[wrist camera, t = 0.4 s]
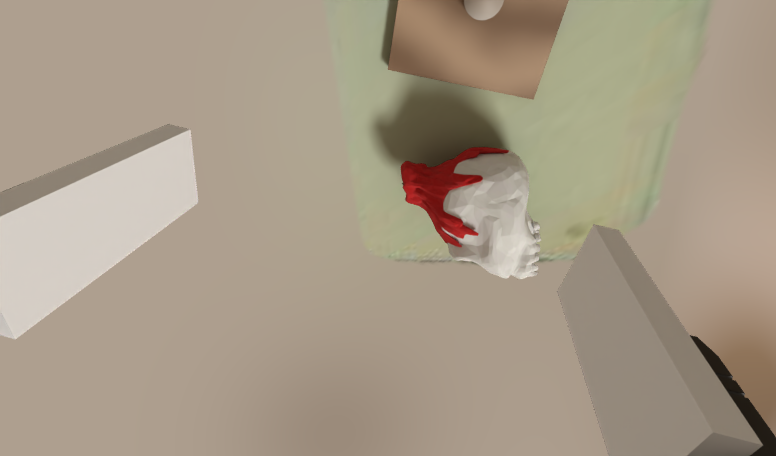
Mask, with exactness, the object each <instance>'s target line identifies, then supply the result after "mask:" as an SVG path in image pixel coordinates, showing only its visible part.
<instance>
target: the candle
mask: <svg viewBox="0 0 776 456" xmlns="http://www.w3.org/2000/svg"><path fill="white" fill-rule="evenodd" d="M401 175H402V180H403V183H402V184H403V189H404V191H405V192H406V198H405V200H406V201H407V202H408V203H411V204H414V205H418V206H420V207H422V208H423V209H425V210H426V211H427V213H428V214H429V216H430V218H431V220H432V222H433V224H434V226H435V229H436V231H437V232H438V233H439V234H440V236H441V237H442V238H443V240H444V241H445V243H447V244H448V248H449V253H450V255H451V256H452V257H453V258H454V259H455V260H458V261H459V260H464V261H473V262H475V263H477V264H479V265H480V266H482V267H483V268H484V269H486V270H487V271H488V272H489V273H492V274H495V275H497V276H500V277H502V278H508V277H509V276H510V275H513V276H515V277H517V278H519V279H524V278H526V277H529V276H535V275H538V272H536V271H537V270H538V265H535V264H533V262H536V261H538V260H539V254H537V252H539V251H540V245H539V244H536V242H539V241H541V238H540V234H539V230H538V229H540V226H539V224H538V223H537V222H535V221H533V220H532V218H531V217H530V216H529V214H528V212H527V209H526V205H527V200H528V194H529V175H528V172H527V169H526V167H525V165H524V164H523V162H522V160H521V159H520V157H519V156H517V155H516V154H515V153H513V152H511V151H509V150H505V149H498V148H489V147H473V148H469V149H467V150H465V151H464V152H462V153H461V154H459V155H458V156H457V157H456V158H454V159H451V160H447V161H445V162H444V163H442V164H440V165H438V166H435V167H427V165H426V164H422V163H420V164H414V163H411V162H409V161H405V162H404V163H403V164H402V165H401Z"/></svg>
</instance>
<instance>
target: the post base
mask: <svg viewBox="0 0 776 456" xmlns="http://www.w3.org/2000/svg"><path fill="white" fill-rule="evenodd" d="M568 1H569V0H398V6H397V13H396V19H395V26H394V32H393V39H392V45H391V52H390V59H389V65H388V70H392V71H397V72H402V73H407V74H412V75H417V76H422V77H426V78H431V79H436V80H441V81H446V82H451V83H456V84H460V85H465V86H470V87H475V88H480V89H485V90H490V91H494V92H499V93H504V94H509V95H514V96H519V97H524V98H528V99H534V96H535V93H536V91H537V88H538V85H539V82H540V79H541V77H542V74H543V71H544V68H545V65H546V62H547V60H548V57H549V54H550V51H551V48H552V46H553V43H554V40H555V37H556V34H557V31H558V29H559V26H560V23H561V20H562V17H563V15H564V12H565V9H566V6H567V3H568Z"/></svg>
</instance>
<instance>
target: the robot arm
mask: <svg viewBox="0 0 776 456" xmlns="http://www.w3.org/2000/svg"><path fill="white" fill-rule="evenodd" d="M197 203H198V197H197V187H196V178H195V168H194V159H193V150H192V141H191V132H190V129H187V128H183V127H179V126H174V125H170V124H167V125H165V126H162V127H160V128H158V129H155V130H153V131H150V132H148V133H145V134H143V135H140V136H138V137H136V138H133V139H131V140H128V141H126V142H123V143H121V144H118V145H116V146H114V147H111V148H109V149H106V150H104V151H101V152H99V153H96V154H94V155H92V156H89V157H87V158H84V159H82V160H79V161H77V162H74V163H72V164H69V165H67V166H65V167H62V168H60V169H57V170H55V171H52V172H50V173H47V174H45V175H43V176H40V177H38V178H35V179H33V180H30V181H28V182H25V183H22V184H20V185H17V186H15V187H12V188H10V189H8V190H5V191H3V192H1V193H0V335H2V336H5V337H9V338H13V339H16V338H18V337H19V336H20V335H22V334H23V333H24V332H25V331H27V330H28V329H30V328H31V327H32V326H34V325H35V324H36V323H38V322H39V321H40V320H42V319H43V318H44V317H46V316H47V315H48V314H50V313H51V312H52V311H54V310H55V309H56V308H58V307H59V306H60V305H62V304H63V303H64V302H66V301H67V300H68V299H70V298H71V297H72V296H74V295H75V294H76V293H78V292H79V291H80V290H82V289H83V288H85V287H86V286H87V285H89V284H90V283H91V282H93V281H94V280H95V279H97V278H98V277H99V276H100V275H102V274H103V273H104V272H106V271H107V270H109V269H110V268H111V267H113V266H114V265H115V264H117V263H118V262H119V261H121V260H122V259H123V258H125V257H126V256H127V255H129V254H130V253H131V252H133V251H134V250H135V249H137V248H138V247H139V246H141V245H142V244H143V243H145V242H146V241H147V240H149V239H150V238H151V237H153V236H154V235H155V234H157V233H158V232H159V231H161V230H162V229H164V228H165V227H166V226H167V225H169V224H170V223H171V222H173V221H174V220H176V219H177V218H178V217H179V216H181V215H182V214H184V213H185V212H186V211H188V210H189V209H190V208H192V207H193V206H194V205H196V204H197ZM557 292H558V296H559V298H560V302H561V305H562V308H563V311H564V315H565V318H566V321H567V324H568V327H569V331H570V334H571V336H572V340H573V343H574V346H575V350H576V352H577V356H578V359H579V362H580V365H581V369H582V372H583V375H584V378H585V381H586V385H587V388H588V391H589V394H590V397H591V400H592V403H593V407H594V410H595V413H596V416H597V419H598V423H599V426H600V429H601V432H602V435H603V439H604V442H605V445H606V448H607V451H608V454H609V456H776V437H775V435H774V434H773V433H772V431H771V430H770V428H769V427H768V426H767V424H766V423H765V421H764V420H763V419H762V417H761V416H760V414H759V413H758V412H757V410H756V409H755V407H754V406H753V405H752V403H751V402H750V400H749V399H748V398H745V397H744V395H745V393H744V392H743V390H742V389H741V388H740V386H739V385H738V383H737V382H736V381H734V380H732V377H733V376H732V375H731V374H730V372H729V371H728V369H727V368H726V367H725V365H724V364H723V362H722V361H721V360H720V358H719V357H718V356H717V355H716V354H715V353H714V352H713V351H712V350H711V349H710V348H709V347H707V346H706V345H705V344H704V343H703V342H702V341H701V340H700V339H699V338H698V337H695V336H691V335H689V334H688V332H687V331H686V330H685V328H684V326H683V325H682V323H681V322H680V320H679V319H678V317H677V316H676V315H675V313H674V312H673V310H672V308H671V307H670V306H669V304H668V303H667V301H666V300H665V298H664V297H663V295H662V294H661V292H660V291H659V289H658V288H657V286H656V285H655V283H654V282H653V280H652V279H651V277H650V276H649V274H648V273H647V271H646V270H645V268H644V267H643V265H642V264H641V262H640V261H639V259H638V258H637V256H636V255H635V253H634V252H633V250H632V249H631V247H630V246H629V245H628V243H627V241H626V240H625V238H624V237H623V235H622V234H621V232H620V231H619V230H616V229H612V228H608V227H603V226H599V225H595V224H594V225H593V227H592V228H591V230H590V232H589V234H588V236H587V238H586V239H585V241H584V243H583V245H582V247H581V249H580V251H579V252H578V254H577V256H576V258H575V260H574V262H573V263H572V265H571V267H570V269H569V271H568V273H567V274H566V276H565V278H564V280H563V282H562V284H561V285H560V287H559V289H558V291H557Z"/></svg>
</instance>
